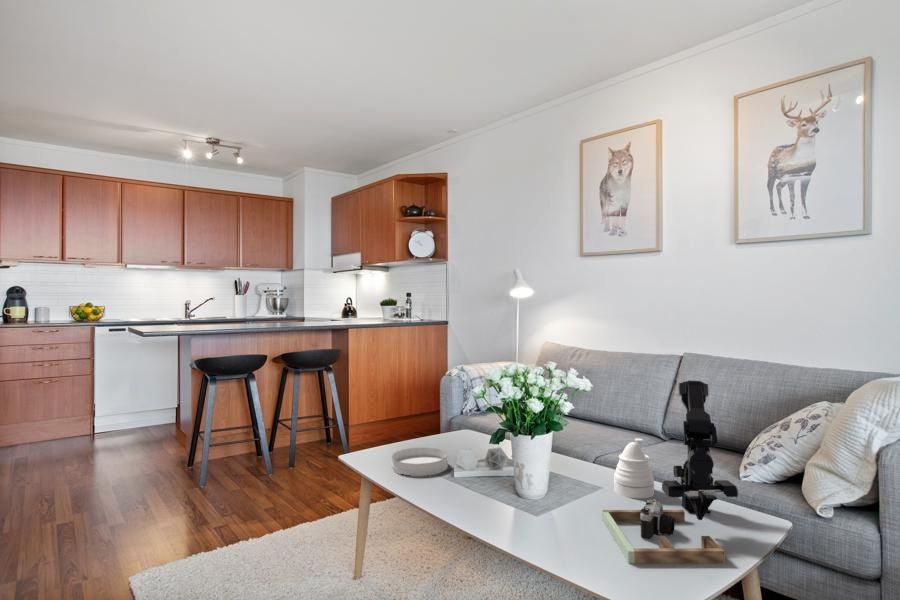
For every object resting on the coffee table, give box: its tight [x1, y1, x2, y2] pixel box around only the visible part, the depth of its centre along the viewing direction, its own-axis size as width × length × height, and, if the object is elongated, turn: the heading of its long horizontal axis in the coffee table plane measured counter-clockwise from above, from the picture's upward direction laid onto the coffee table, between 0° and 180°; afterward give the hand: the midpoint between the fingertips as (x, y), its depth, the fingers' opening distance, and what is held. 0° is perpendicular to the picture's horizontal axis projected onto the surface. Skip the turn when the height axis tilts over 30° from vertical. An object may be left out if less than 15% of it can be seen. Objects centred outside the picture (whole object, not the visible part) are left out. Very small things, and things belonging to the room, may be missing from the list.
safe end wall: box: [601, 509, 636, 564], centre depth 147 cm, size 2×26×3 cm, turn 178°
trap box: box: [602, 509, 726, 564], centre depth 147 cm, size 24×26×3 cm
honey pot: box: [613, 437, 655, 500], centre depth 183 cm, size 13×13×18 cm
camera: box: [640, 498, 676, 541], centre depth 151 cm, size 13×8×9 cm, turn 149°
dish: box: [391, 447, 449, 477], centre depth 213 cm, size 22×22×5 cm
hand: (699, 519), depth 150 cm, fingers closed
